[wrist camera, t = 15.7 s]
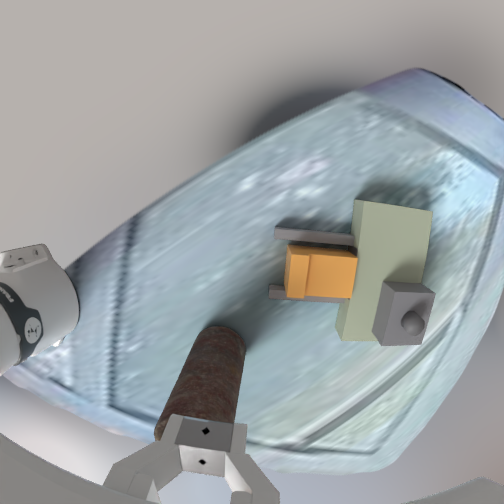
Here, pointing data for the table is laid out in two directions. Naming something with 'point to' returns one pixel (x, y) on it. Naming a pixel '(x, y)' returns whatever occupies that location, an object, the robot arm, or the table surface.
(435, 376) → the table surface
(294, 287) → the orange lidded box
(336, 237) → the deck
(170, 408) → the candle
